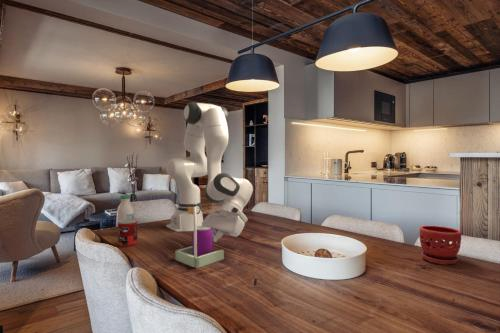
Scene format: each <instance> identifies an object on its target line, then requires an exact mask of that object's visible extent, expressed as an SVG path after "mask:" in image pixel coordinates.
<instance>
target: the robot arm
mask: <svg viewBox="0 0 500 333" xmlns="http://www.w3.org/2000/svg"><path fill="white" fill-rule="evenodd" d="M183 117H184V118H183V119H184V121H185V122H186V123H187V125H186V129H185V132H184V139H183V147H184V150H186V151H187V152H189V153H190V155H189V156H188V157H185V156H182V157H181V156H180V157H179V156H178V157H174V158H170V159H169V160H168V162H167V163H166V164H165V165H166V166H165V170H166V173H167V175H168V176H169V177H170V178H171V179H173V180H174V182H175V183H176V185H177V188H178V191H179V192H178V194H179V203H178V204H176V207H177V210H176V211H175V212H174V213H173V214H172V215H171V217H170V223H168V224H166V226H165V227H166V228H168V229H170V230H172V231H174V232H177V233H179V232H193V230H194V215H193V214H188V207H196V222H197V226H209V227H210V228H211V231H212V243H217V242H218V240H219V239H220V238H221V237H223V235H227V236H231V237H234V238H235V237H236V238H237V237H239V236H240V235H241V233H242V232H243V229H244V228H245V225H246V224H245V223H247V222H248V217H247V216H246V214H244V212H243V210H244V208H245V207H246V206H247V204H248V203H249V201H250V199H251V197H252V195H253V191H254V187H253V184H252V183H251V182H250V181H249V180H248V179H246V178H243V177H242V178H238V177H234V176H232V175H230V174H228V173H225V172H222V164H221V163H222V158H223V155H224V154H225V151H226V150H227V147H228V144H229V138H230V137H229V136H230V135H229V128H228V121H229V112H228V109H227V108H226V107H224V106H221V105H215V104H213V103H204V102H203V103H202V102H195V101H194V102H193V101H191V102H188V103H186V105H185V107H184V109H183ZM205 152H206V153H205ZM205 176H207V181H206V182H207V183H206V186H205V189H204V195H205V197H206V199H207V201H208V202H210V203H213V204H221V203H222V202H223V203H222V204H221V205H220V207H219V209H218V210H216V209H215V210H213V211H211V212H209V213H208V214H207V215H206V216H205V218H204V217H203V211H202V202H201V189H200V186H198V185H197V184H195V183H194V182H193V181H192V178H201V177H205Z"/></svg>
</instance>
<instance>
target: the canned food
mask: <svg viewBox="0 0 500 333" xmlns="http://www.w3.org/2000/svg"><path fill="white" fill-rule="evenodd" d="M117 237H118V238H117V242H118V243H117V244H118V246H119V247H120V248H128V247H129V248H130V247H134V246H136V245H137V244H138V221H137V219H136V218H134V219H124V220H120V221H118V220H117Z"/></svg>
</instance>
